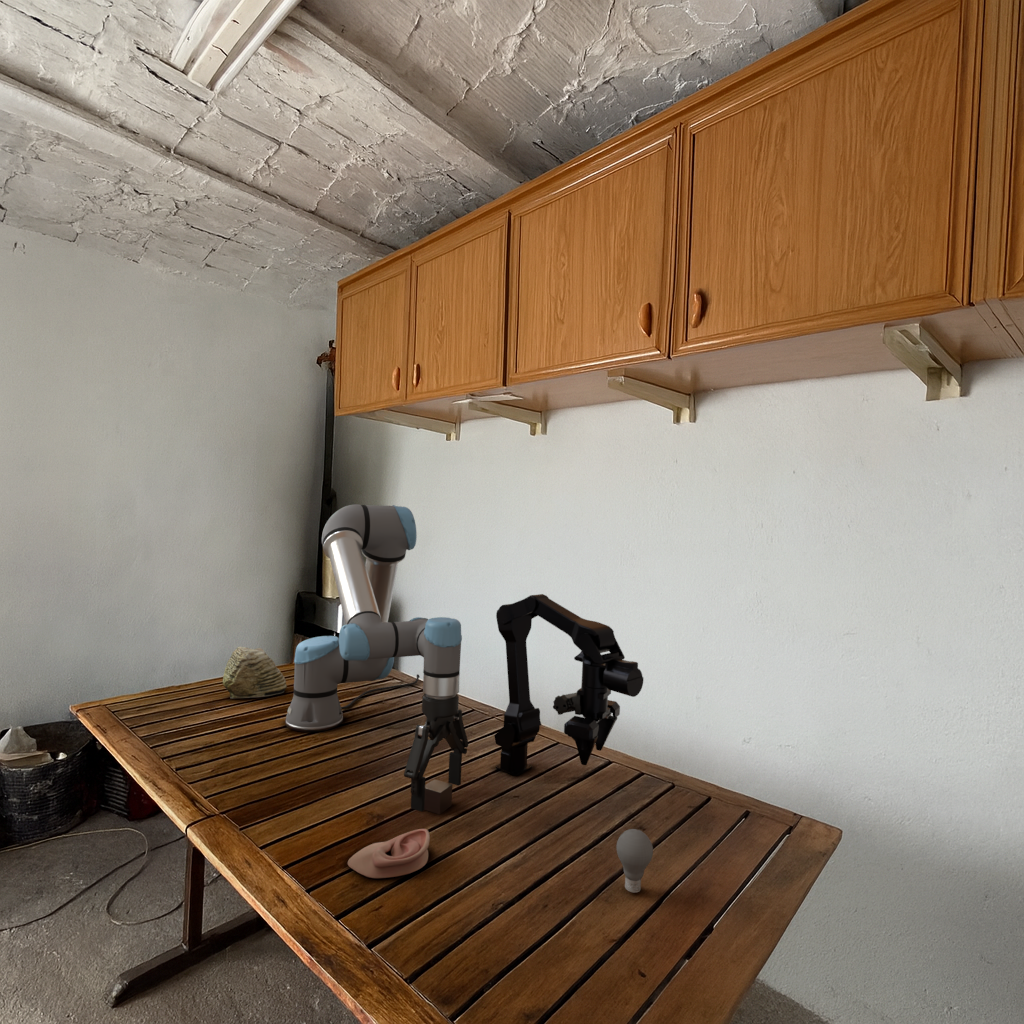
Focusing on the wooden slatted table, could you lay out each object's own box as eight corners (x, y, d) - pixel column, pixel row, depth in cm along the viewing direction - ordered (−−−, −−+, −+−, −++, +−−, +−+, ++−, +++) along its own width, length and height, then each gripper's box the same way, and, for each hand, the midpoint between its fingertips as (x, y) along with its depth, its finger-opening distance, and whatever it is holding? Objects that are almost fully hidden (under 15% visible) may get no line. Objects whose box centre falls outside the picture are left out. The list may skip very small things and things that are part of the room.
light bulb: (610, 879, 108) (613, 822, 108) (644, 879, 109) (647, 822, 109) (619, 902, 102) (622, 840, 102) (655, 901, 103) (658, 840, 103)
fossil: (218, 695, 195) (220, 647, 195) (278, 685, 208) (279, 640, 207) (228, 703, 189) (230, 653, 188) (289, 692, 201) (290, 645, 201)
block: (433, 800, 135) (434, 778, 134) (451, 805, 132) (452, 784, 132) (421, 808, 131) (421, 787, 130) (439, 814, 128) (440, 792, 128)
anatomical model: (339, 849, 107) (368, 816, 118) (339, 872, 107) (367, 837, 118) (414, 862, 104) (436, 827, 115) (413, 885, 104) (435, 848, 116)
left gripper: (457, 677, 144) (453, 770, 144) (388, 706, 122) (384, 816, 122) (486, 682, 140) (482, 778, 141) (420, 713, 118) (415, 826, 118)
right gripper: (575, 669, 147) (572, 735, 147) (542, 688, 131) (539, 764, 131) (622, 677, 142) (618, 746, 142) (593, 698, 125) (589, 776, 126)
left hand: (436, 796), depth 131 cm, fingers open, 13 cm apart
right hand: (591, 757), depth 135 cm, fingers open, 9 cm apart
